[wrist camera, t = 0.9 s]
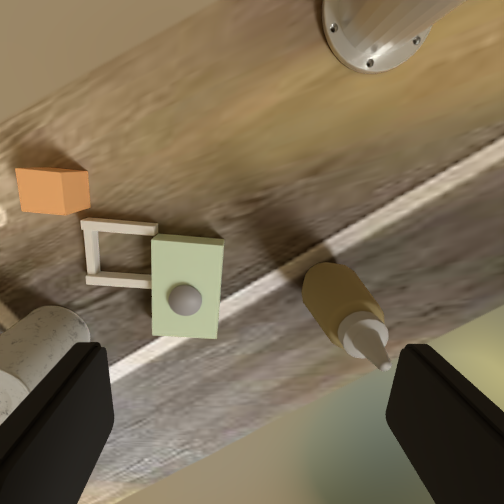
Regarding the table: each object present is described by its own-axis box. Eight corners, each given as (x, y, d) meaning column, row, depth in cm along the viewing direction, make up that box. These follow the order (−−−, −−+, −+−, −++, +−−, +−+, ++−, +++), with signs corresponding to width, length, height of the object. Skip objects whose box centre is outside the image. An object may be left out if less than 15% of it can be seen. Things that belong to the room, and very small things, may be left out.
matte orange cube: (49, 167, 34) (15, 168, 29) (87, 171, 34) (60, 172, 29) (53, 204, 35) (21, 211, 30) (90, 207, 36) (65, 215, 30)
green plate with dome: (88, 217, 36) (72, 223, 32) (225, 229, 37) (223, 236, 34) (97, 318, 41) (83, 334, 37) (217, 326, 42) (216, 341, 38)
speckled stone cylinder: (87, 307, 40) (25, 366, 28) (92, 360, 43) (38, 434, 31) (18, 303, 39) (-74, 362, 28) (29, 358, 42) (-51, 432, 31)
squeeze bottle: (287, 294, 41) (322, 388, 24) (310, 246, 39) (367, 312, 22) (334, 310, 42) (399, 411, 25) (359, 265, 40) (450, 341, 23)
